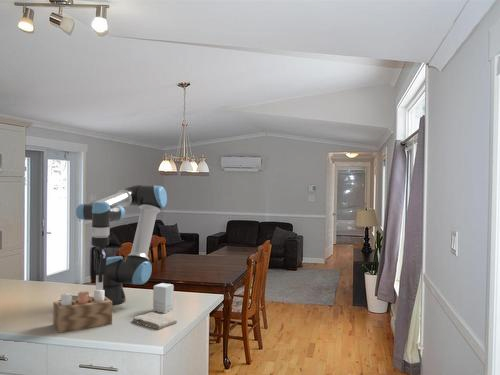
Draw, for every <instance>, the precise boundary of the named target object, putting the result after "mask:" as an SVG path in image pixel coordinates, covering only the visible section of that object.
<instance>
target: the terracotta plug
mask: <svg viewBox="0 0 500 375" xmlns="http://www.w3.org/2000/svg"><path fill="white" fill-rule="evenodd" d="M89 295H90V294H89V291H86V290H85V291H84V290H83V291H79V292H78V293H77V299H78V304H83V303H88V300H89V297H90V296H89Z"/></svg>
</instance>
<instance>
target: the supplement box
mask: <svg viewBox="0 0 500 375" xmlns="http://www.w3.org/2000/svg"><path fill="white" fill-rule="evenodd" d="M174 289H175V286H174V284H171V283H165V282H161V283H157V284H155V285H153V290H152V291H153V293H152V294H153V298H152V300H153V303H152V312H155V311H157V312H156V313H161V312H162V313H163V314H167V313H169V312H171V311H173V310H174ZM170 310H171V311H170ZM168 311H169V312H168ZM166 312H167V313H166Z"/></svg>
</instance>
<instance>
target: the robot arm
mask: <svg viewBox="0 0 500 375" xmlns="http://www.w3.org/2000/svg"><path fill="white" fill-rule="evenodd" d="M167 203H168V196H167V191H166V188H165V187H163V186H162V185H155V184H154V185H147V184H138V185H137V184H136V185H131V186H127V187H125V188H122V189H119V190H118V191H117V192H116V193H113V194H112V195H110V196H106V197H104V198H102V199H98V200H96V201H94V202H90V203H80V204H78V205H77V207H76V209H75V216H76V218H77V219H78V220H83V221H91V229H90V232H91V236H92V237H91V241H90V242H91V246H93V247H95V249H94V250H93V251H92V252H93V265H94V272H95V290H105V294H104V296H105V297H107V298H108V299H109V300H111V301H112V306H115V305H121V304H123V303H126V293H125V290H124V288H123V284H128V285H129V284H131V285H144V284H145V283H147V282H148V281H149V279H150V278H151V275H152V273H153V272H152V270H153V269H152V267H153V266H152V263H151V262H150V258H149V257H148V256H149V250H150V246H151V242H152V237H153V232H154V229H155V228H154V227H155V222H156V220H157V214H159V213H160V212H161V210H162V208H165V207H166V205H167ZM130 206H131V207H132V206H133V207H134V206H135V207H138V208H139V209H140V214H139V217H138V222H137V226H136V231H135V234H134V239H133V242H132V247H131V251H130V253H129V254H127V256H126V258H125V259H124V257H123V256H121V255H119V256H116V255H115V256H108V253H107V250H106V247H107V246H109V244H110V223H111V222H112V223H113V222H118V221H122V220H123V219H124V218H125V215H126V209H125V208H126V207H130Z"/></svg>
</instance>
